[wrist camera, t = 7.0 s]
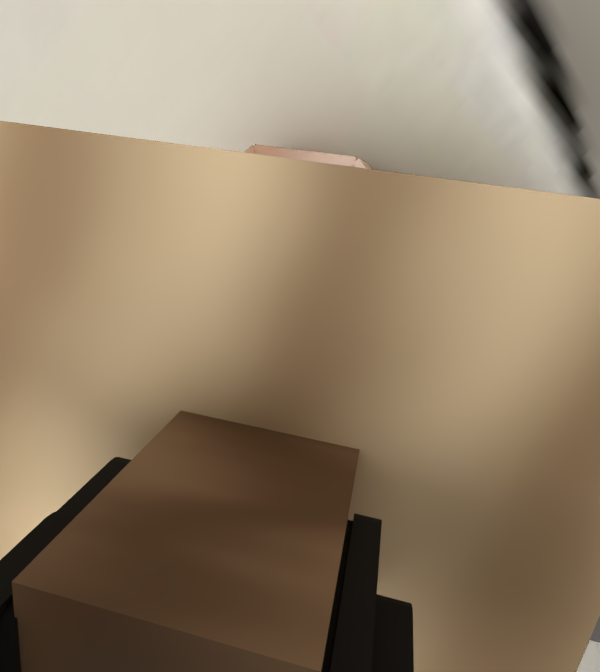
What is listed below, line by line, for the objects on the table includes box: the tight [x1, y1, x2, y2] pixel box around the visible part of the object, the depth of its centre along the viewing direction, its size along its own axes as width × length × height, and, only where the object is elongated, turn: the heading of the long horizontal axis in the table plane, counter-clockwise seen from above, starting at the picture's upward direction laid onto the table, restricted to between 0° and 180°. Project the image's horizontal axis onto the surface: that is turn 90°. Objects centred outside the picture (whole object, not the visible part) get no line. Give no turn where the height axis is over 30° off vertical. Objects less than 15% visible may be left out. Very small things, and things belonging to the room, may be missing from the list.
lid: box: [0, 121, 600, 672], centre depth 9 cm, size 15×15×6 cm
